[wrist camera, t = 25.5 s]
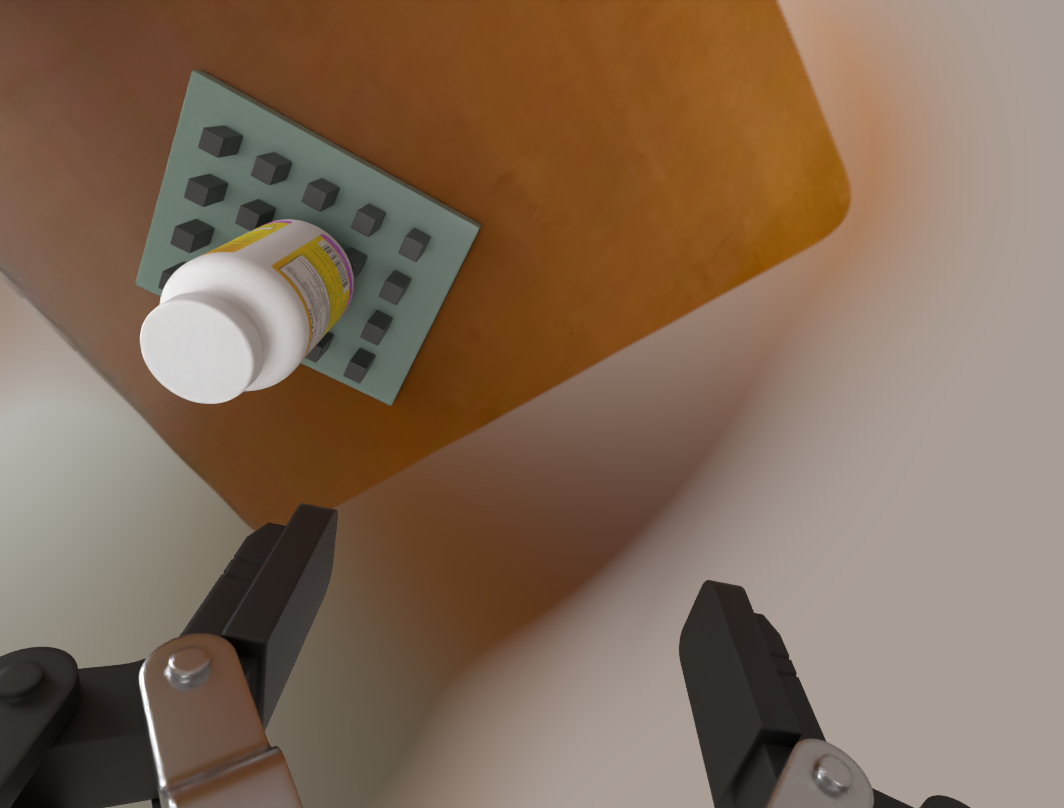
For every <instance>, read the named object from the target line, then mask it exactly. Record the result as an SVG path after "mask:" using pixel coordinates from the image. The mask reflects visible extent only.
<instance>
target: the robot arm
mask: <svg viewBox="0 0 1064 808" xmlns="http://www.w3.org/2000/svg"><path fill="white" fill-rule="evenodd" d="M337 519H338V512H337V510H335V509H329V508H324V507H319V506H314V505H308V504H303V503H301V504H300V505H299V506H298V507H297V509H296V511H295V512H294V514H293V516H292V517H291V519H290V521H289V522H288V524H287V526H283V525H278V524H273V523H267V524H266V525H264V526H263V527H261V528H260V529H258V530H257V531H255V532H254V533H252V534H251V535H249V536H248V537H247V538H246V539H245V541H244V542H243V544H242V545H241V547H240V548H239V549H238V551H237V552H236V554H235V556H234V559H232V560H231V561H230V563H229V564H228V566H227V567H226V569H225V570H224V573H223V575H221V576H220V578H219V579H218V581H217V582H216V583H215V585H214V586H213V588H212V589H211V591H210V592H209V594H208V595H207V597H206V598H205V600H204V601H203V603H202V604H201V606H200V607H199V609H198V610H197V612H196V613H195V615H194V616H193V618H192V619H191V620H190V622H189V623H188V625H187V627H186V628H185V629H184V631H183V632H182V633H181V635H180V636H179V637H177V638H174V639H172V640H170V641H168V642H166V643H164V644H163V645H161V646H159V647H158V648H157V649H155V650H154V651H153V652H152V653H151V654H150V655H149V656H148V658H145V659H143V660H140V661H137V662H133V663H129V664H122V665H113V666H103V667H93V668H83V669H78V667H77V663H76V661H75V659H74V658H73V657H72V656H71V655H70V654H68V653H67V652H65V651H63V650H60V649H57V648H51V647H32V648H27V649H21V650H18V651H14V652H11V653H8V654H6V655H3V656H1V657H0V808H104V807H111V806H117V805H122V804H128V803H134V802H140V801H145V800H149V802H150V808H303V806H302V803H301V800H300V798H299V795H298V792H297V789H296V787H295V784H294V781H293V779H292V776H291V773H290V771H289V768H288V765H287V762H286V760H285V757H284V755H283V753H282V751H281V750H280V748H279V747H277V746H274V747H271V746H270V744H269V742H268V740H267V737H266V735H265V729H266V727H267V725H268V723H269V720H270V718H271V716H272V714H273V711H274V709H275V707H276V705H277V702H278V700H279V698H280V695H281V693H282V691H283V689H284V687H285V684H286V682H287V680H288V678H289V675H290V673H291V671H292V668H293V666H294V664H295V662H296V659H297V657H298V655H299V652H300V650H301V648H302V646H303V644H304V641H305V639H306V637H307V634H308V632H309V630H310V627H311V625H312V623H313V621H314V619H315V616H316V614H317V612H318V610H319V607H320V605H321V603H322V601H323V598H324V596H325V593H326V590H327V588H328V584H329V581H330V577H331V572H332V566H333V556H334V548H335V537H336V529H337ZM679 656H680V662H681V666H682V670H683V675H684V679H685V683H686V688H687V692H688V696H689V700H690V704H691V708H692V713H693V717H694V721H695V726H696V730H697V734H698V738H699V743H700V747H701V751H702V756H703V760H704V764H705V768H706V772H707V777H708V781H709V785H710V789H711V793H712V798H713V802H714V807H715V808H913V807H911V806H909V805H907V804H905V803H902V802H900V801H898V800H896V799H894V798H892V797H890V796H888V795H886V794H883V793H881V792H879V791H877V790H875V789H873V788H872V787H871V784H870V782H869V780H868V778H867V777H866V775H865V773H864V772H863V771H862V769H861V768H860V767H859V765H857V763H856V762H855V761H854V760H853V759H852V758H851V757H850V756H849V755H847V754H846V753H844V752H843V751H842V750H841V749H839V748H837V747H836V746H834V745H832V744H830V743H828V742H826V740H825V738H824V735H823V733H822V731H821V728H820V726H819V724H818V721H817V719H816V717H815V715H814V713H813V710H812V708H811V705H810V703H809V701H808V698H807V696H806V694H805V691H804V689H803V687H802V684H801V682H800V680H799V678H797V677H796V671H795V668H794V666H793V664H792V661H791V660H789V654H788V652H787V650H786V648H785V645H784V643H783V640H782V638H781V636H780V634H779V633H778V632H777V631H776V629H775V628H774V627H773V626H772V625H771V624H770V622H769V621H768V620H767V619H766V618H765V616H764V615H762V614H757V613H754V612H753V609H752V607H751V604H750V602H749V599H748V597H747V594H746V592H745V590H744V589H743V587H741V586H737V585H732V584H727V583H721V582H716V581H711V580H707V581H705V582H704V584H703V585H702V587H701V589H700V591H699V594H698V596H697V598H696V600H695V602H694V605H693V607H692V609H691V611H690V614H689V616H688V618H687V620H686V622H685V625H684V627H683V630H682V633H681V636H680V644H679ZM920 808H970V807H968V806H967V805H965V804H963V803H961V802H960V801H957V800H955V799H953V798H950V797H947V796H940V795H937V796H931V797H929V798H928V799H927V800H925V802H924V803H923V804H922V805H921V807H920Z"/></svg>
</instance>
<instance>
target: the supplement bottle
mask: <svg viewBox="0 0 1064 808" xmlns="http://www.w3.org/2000/svg"><path fill="white" fill-rule="evenodd" d="M353 289H354V278H353V271H352V267H351V264H350V262H349V259H348V257H347V255H346V253H345V252H344V250H343V249H342V247H341V246H340V245H339V243H338V242H337V241H336V240H335V239H334V238H333V237H332V236H331V235H329V234H328V233H327V232H325V231H324V230H322V229H321V228H319V227H317V226H315V225H313V224H310V223H308V222H304V221H300V220H292V219H284V220H277V221H273V222H270V223H267V224H265V225H263V226H260V227H258V228H256V229H254V230H252V231H250V232H248V233H246V234H244V235H242V236H240V237H238V238H236V239H234V240H232V241H230V242H228V243H226V244H224V245H222V246H220V247H218V248H216V249H213V250H211V251H209V252H207V253H205V254H203V255H201V256H199V257H197V258H195V259H193V260H191V261H189V262H187V263H185V264H184V265H183V266H181V267H180V268H179V269H177V270H176V271H175V272H174V273H173V274H172V276H171V277H170V278H169V280H168V281H167V283H166V285H165V287H164V289H163V291H162V295H161V298H160V305H159V306H158V307H156V308H155V309H154V310H153V311H152V312H151V313H150V314H149V315H148V316H147V318H146V319H145V321H144V323H143V325H142V328H141V333H140V345H141V351H142V355H143V358H144V361H145V363H146V365H147V366H148V368H149V370H150V371H151V373H152V374H153V375H154V377H155V378H156V379H157V380H158V381H159V382H160V383H161V384H162V385H163V386H165V387H166V388H167V389H169V390H170V391H171V392H173V393H174V394H176V395H178V396H180V397H182V398H184V399H187V400H190V401H193V402H198V403H204V404H216V403H222V402H226V401H228V400H231V399H233V398H235V397H237V396H238V395H239V394H241V393H242V392H243V391H254V390H260V389H264V388H267V387H270V386H273V385H275V384H277V383H279V382H280V381H282V380H283V379H285V378H286V377H287V376H289V375H290V374H291V373H292V372H293V371H294V370H295V369H296V367H297V366H298V365H299V364H300V363H301V362H302V360H303V359H304V358H305V357H306V356H307V355H308V353H309V352H310V351H311V350H312V349H313V348H314V347H315V346H316V345H317V343H318V342H319V341H320V340H321V339H322V338H323V337H324V336H325V334H326V333H327V332H328V331H329V330H330V329H331V328H332V327H333V325H334V324H335V323H336V322H337V321H338V320H339V319H340V317H341V316H342V315H343V314H344V312H345V311H346V309H347V308H348V306H349V304H350V301H351V298H352V294H353Z"/></svg>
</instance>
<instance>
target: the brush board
mask: <svg viewBox="0 0 1064 808" xmlns="http://www.w3.org/2000/svg"><path fill="white" fill-rule="evenodd" d="M284 219H292V220H300V221H304V222H308V223H310V224H313V225H315V226H317V227H319V228H321V229H322V230H324V231H325V232H327V233H328V234H329V235H331V236H332V237H333V238H334V239H335V240H336V241H337V242H338V243H339V245H340V246H341V247H342V249H343V250H344V252H345V253H346V255H347V257H348V259H349V262H350V264H351V267H352V271H353V278H354V289H353V294H352V298H351V301H350V304H349V306H348V308H347V309H346V311H345V312H344V314H343V315H342V316H341V317H340V319H339V320H338V321H337V322H336V323H335V324H334V325H333V327H332V328H331V329H330V330H329V331H328V332H327V333H326V334H325V336H324V337H323V338H322V339H321V340H320V341H319V342H318V343H317V345H316V346H315V347H314V348H313V349H312V350H311V351H310V352H309V353H308V355H307V356H306V357H305V358H304V359H303V360H302V362H301V363H302V364H304V365H306V366H308V367H310V368H312V369H314V370H316V371H318V372H321V373H323V374H325V375H327V376H329V377H331V378H333V379H335V380H337V381H340V382H342V383H344V384H346V385H348V386H350V387H352V388H354V389H356V390H359V391H361V392H363V393H365V394H367V395H369V396H371V397H373V398H375V399H378V400H380V401H382V402H384V403H386V404H388V405H390V406H391V405H392V404H393V402H394V400H395V398H396V396H397V394H398V392H399V390H400V388H401V386H402V384H403V382H404V380H405V377H406V375H407V373H408V371H409V369H410V367H411V365H412V363H413V361H414V359H415V357H416V355H417V353H418V351H419V349H420V347H421V345H422V343H423V341H424V339H425V337H426V335H427V333H428V331H429V329H430V327H431V325H432V323H433V321H434V319H435V317H436V315H437V313H438V311H439V309H440V307H441V305H442V303H443V301H444V299H445V297H446V295H447V293H448V291H449V289H450V287H451V285H452V283H453V281H454V279H455V277H456V275H457V273H458V271H459V269H460V267H461V265H462V263H463V261H464V259H465V257H466V255H467V253H468V251H469V249H470V247H471V245H472V243H473V241H474V239H475V237H476V235H477V233H478V231H479V229H480V227H481V224H480V223H478V222H476V221H474V220H472V219H471V218H469V217H467V216H465V215H463V214H462V213H460V212H458V211H456V210H454V209H452V208H451V207H449V206H447V205H445V204H443V203H442V202H440V201H438V200H436V199H434V198H433V197H431V196H429V195H427V194H425V193H423V192H422V191H420V190H418V189H416V188H414V187H413V186H411V185H409V184H407V183H405V182H404V181H402V180H400V179H398V178H396V177H394V176H393V175H391V174H389V173H387V172H385V171H384V170H382V169H380V168H378V167H376V166H375V165H373V164H371V163H369V162H367V161H365V160H364V159H362V158H360V157H358V156H356V155H355V154H353V153H351V152H349V151H347V150H346V149H344V148H342V147H340V146H338V145H336V144H335V143H333V142H331V141H329V140H327V139H326V138H324V137H322V136H320V135H318V134H317V133H315V132H313V131H311V130H309V129H307V128H306V127H304V126H302V125H300V124H298V123H297V122H295V121H293V120H291V119H289V118H288V117H286V116H284V115H282V114H280V113H279V112H277V111H275V110H273V109H271V108H269V107H268V106H266V105H264V104H262V103H260V102H259V101H257V100H255V99H253V98H251V97H250V96H248V95H246V94H244V93H242V92H240V91H239V90H237V89H235V88H233V87H231V86H230V85H228V84H226V83H224V82H222V81H221V80H219V79H217V78H215V77H213V76H211V75H210V74H208V73H206V72H204V71H199V70H192V73H191V77H190V80H189V84H188V88H187V92H186V95H185V99H184V103H183V107H182V110H181V114H180V118H179V122H178V125H177V129H176V133H175V137H174V140H173V144H172V148H171V152H170V155H169V159H168V163H167V167H166V170H165V174H164V178H163V182H162V185H161V189H160V193H159V197H158V200H157V204H156V208H155V212H154V215H153V219H152V223H151V227H150V230H149V234H148V238H147V242H146V245H145V249H144V253H143V257H142V260H141V264H140V268H139V272H138V275H137V279H136V283H135V285H137V286H139V287H141V288H143V289H146V290H148V291H150V292H152V293H154V294H156V295H158V296H160V297H161V295H162V291H163V289H164V287H165V285H166V283H167V281H168V280H169V278H170V277H171V276H172V274H173V273H174V272H175V271H176V270H177V269H179V268H180V267H181V266H183V265H184V264H185V263H187V262H189V261H191V260H193V259H195V258H197V257H199V256H201V255H203V254H205V253H207V252H209V251H211V250H213V249H216V248H218V247H220V246H222V245H224V244H226V243H228V242H230V241H232V240H234V239H236V238H238V237H240V236H242V235H244V234H246V233H248V232H250V231H252V230H254V229H256V228H258V227H260V226H263V225H265V224H267V223H270V222H273V221H277V220H284Z"/></svg>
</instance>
